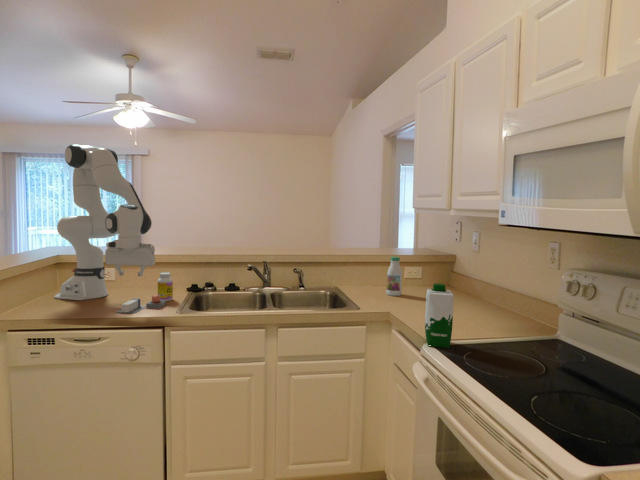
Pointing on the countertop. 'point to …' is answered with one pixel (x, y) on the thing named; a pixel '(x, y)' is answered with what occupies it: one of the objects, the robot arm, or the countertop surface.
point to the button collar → (155, 304)
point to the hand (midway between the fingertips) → (130, 275)
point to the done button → (156, 299)
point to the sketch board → (132, 310)
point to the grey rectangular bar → (131, 305)
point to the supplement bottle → (165, 287)
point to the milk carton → (439, 316)
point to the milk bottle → (394, 278)
